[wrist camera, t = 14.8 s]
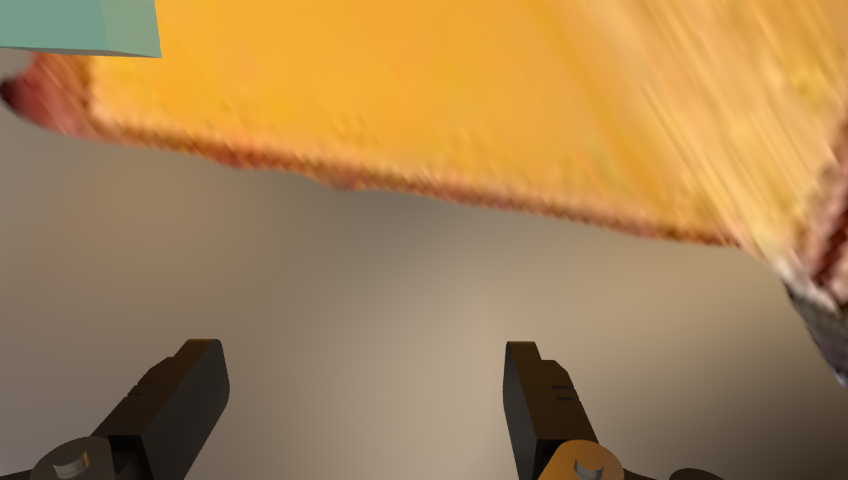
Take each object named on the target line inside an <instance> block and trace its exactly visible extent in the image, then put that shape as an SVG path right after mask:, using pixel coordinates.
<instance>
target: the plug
mask: <svg viewBox="0 0 848 480" xmlns="http://www.w3.org/2000/svg"><path fill="white" fill-rule="evenodd" d="M0 47H1V48H10V49H19V50H28V51H36V52H45V53H54V54H63V55H93V56H122V57H151V58H162V55H161V48H160V40H159V33H158V26H157V18H156V11H155V3H154V0H0Z"/></svg>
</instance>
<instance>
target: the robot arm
mask: <svg viewBox="0 0 848 480" xmlns="http://www.w3.org/2000/svg"><path fill="white" fill-rule="evenodd" d="M229 392H230V385H229V379H228V374H227V369H226V364H225V358H224V353H223V348H222V344H221V342H220V340H218V339H189V340H188V341H186V343H185V344H184V345H183V346H182V347H181V348H180V350H179V351H178V352H177V353H176V354H175V355H174V357H167V358H166V359H164V360H163V361H161V362H160V363H158V364H157V365H155V366H153V367H152V368H150V369H149V370H148V372H147V373H146V374H145V375H144V376H143V377H142V378H141V379H140V380H139V382H138V384H137V385H135V386H134V387H133V388H132V389H131V391H130V392H129V393H128V396H127V397H124V398H123V400H122V401H121V402H120V403H119V404H118V405H117V406H116V407H115V408H114V410H113V411H112V412H111V413H110V414H109V415H108V416H107V418H106V419H105V420H104V421H103V422H102V423H101V424H100V425H99V426H98V428H97V429H96V430H95V431H94V432H93V433H92V434H91V435H90V436H88V437H82V438H78V439H75V440H72V441H69V442H67V443H64V444H62V445H60V446H58V447H57V448H55V449H53V450H52V451H50V452H49V453H48V454H46V455H45V456H44V457H43V458H42V459H40V460H39V462H38V463H37V464H36V465H35V466H34V468H33V469H31V470H27V471H23V472H18V473H14V474H9V475H5V476H1V477H0V480H184V478H185V476H186V474H187V473H188V471H189V469H190V468H191V466H192V464H193V462H194V461H195V459H196V457H197V456H198V454H199V452H200V450H201V449H202V447H203V445H204V443H205V442H206V440H207V438H208V437H209V435H210V433H211V431H212V430H213V428H214V426H215V425H216V423H217V421H218V419H219V418H220V416H221V414H222V412H223V411H224V409H225V407H226V405H227V402H228V398H229ZM503 405H504V411H505V416H506V421H507V425H508V430H509V435H510V439H511V444H512V449H513V453H514V458H515V462H516V467H517V472H518V476H519V480H656V479H652V478H648V477H645V476H641V475H638V474H635V473H632V472H630V471H628V470H626V469H624V468H623V467H622V465H621V463H620V461H619V460H618V459H617V457H616V456H615V455H614V454H613V453H612V452H611V451H609V450H608V449H606V448H605V447H603V446H601V445H600V444H599V442H598V440H597V438H596V435H595V433H594V431H593V429H592V426H591V424H590V422H589V420H588V417H587V415H586V413H585V411H584V408H583V406H582V404H581V401H579V397H578V395H577V392H576V390H575V389H574V386H573V383H572V381H571V379H570V377H569V375H568V372H567V371H566V370H565V369H564V368H562V367H561V366H560V365H559V364H558V363H557V362H556V361H555V360H542V359H541V357H540V354H539V351H538V349H537V346H536V344H535V342H526V341H525V342H523V341H521V342H519V341H515V342H514V341H513V342H512V341H508V342H507V344H506V354H505V366H504V378H503ZM669 480H723V479H722V478H720V477H718V476H716V475H714V474H712V473H709V472H706V471H704V470H699V469H692V468H685V469H680V470H677V471H676V472H674V473H673V474H672V475H671V476H670V478H669Z"/></svg>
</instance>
